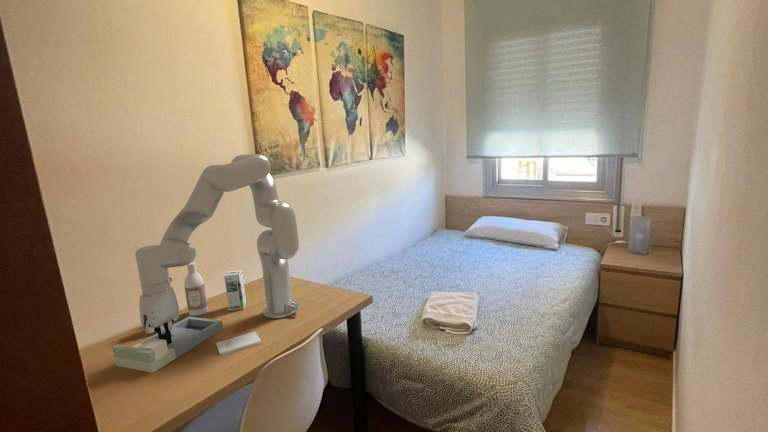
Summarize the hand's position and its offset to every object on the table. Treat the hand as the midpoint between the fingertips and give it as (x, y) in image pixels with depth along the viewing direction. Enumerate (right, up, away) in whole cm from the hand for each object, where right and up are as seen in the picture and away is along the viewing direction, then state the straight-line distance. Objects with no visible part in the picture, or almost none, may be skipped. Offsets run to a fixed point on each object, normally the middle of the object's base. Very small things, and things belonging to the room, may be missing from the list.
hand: (166, 343), depth 122 cm
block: (-1, -2, -4) cm, 5 cm away
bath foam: (-5, +1, +32) cm, 33 cm away
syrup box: (+9, +3, +35) cm, 37 cm away
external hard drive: (+20, -3, +5) cm, 21 cm away
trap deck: (-1, -3, +7) cm, 7 cm away
